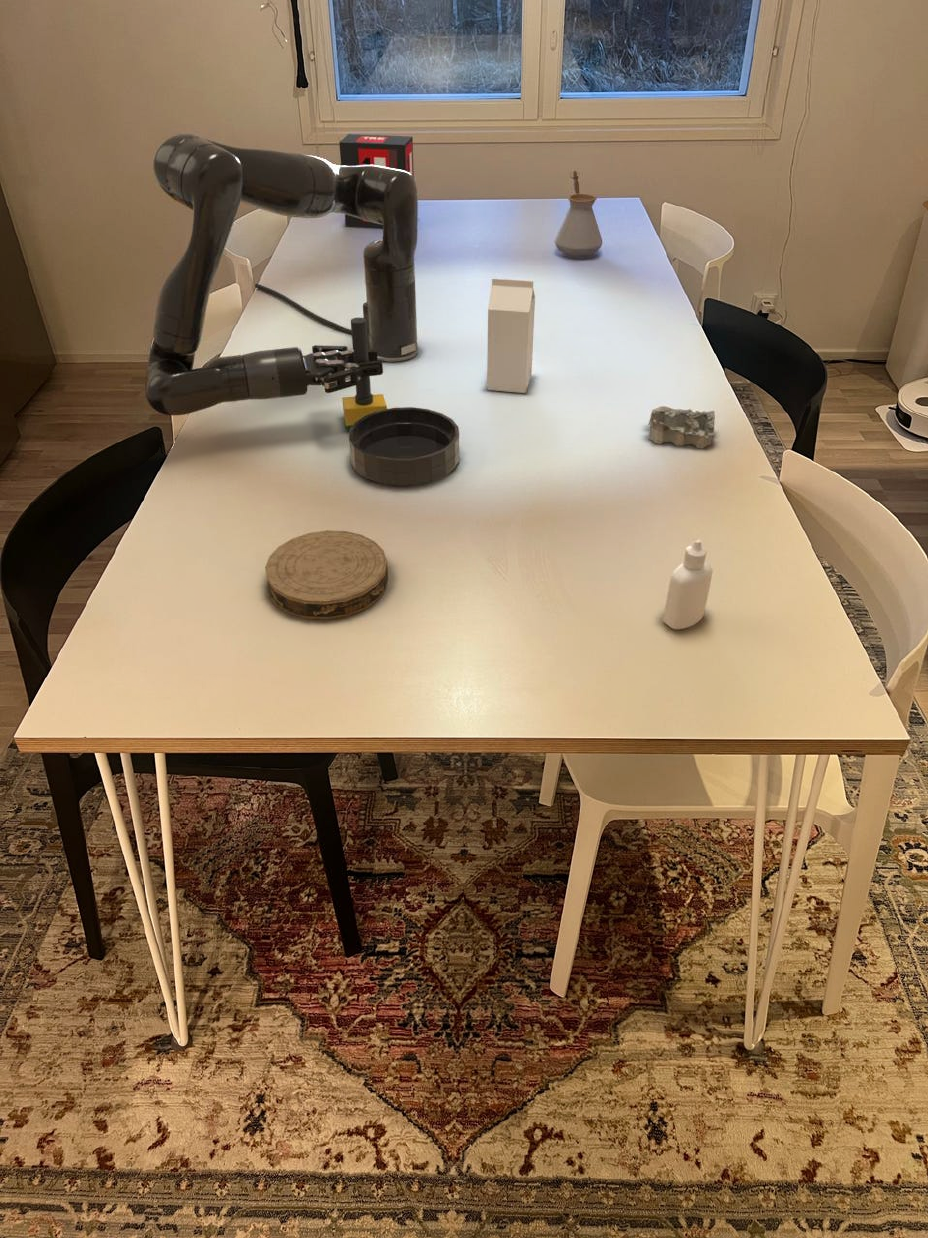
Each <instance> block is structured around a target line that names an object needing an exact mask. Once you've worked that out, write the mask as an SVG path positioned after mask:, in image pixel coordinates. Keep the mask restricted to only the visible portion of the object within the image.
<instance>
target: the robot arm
mask: <svg viewBox="0 0 928 1238" xmlns="http://www.w3.org/2000/svg"><path fill="white" fill-rule="evenodd" d="M152 162H153V166H152V168H153V174H154V176H155V179H156V182H157V183H158V185H159V187H160V188H161V189H162V191H163V192H164V193H165V194H166V195H167V196H168V197H170V198H171V199H172V200H173V201H175V202H177V203H178V204H181V205H183V206H185V207H186V208H188V209H190V210H192V211H193V213H192V215H193V216H192V218H193V219H192V229H191V233H190V238H189V241H188V243H187V246H186V248H185V250H184V252H183V254H182V255H181V256H180V258H179V260H177V262H176V263H175V265H174V266H173V267H172V268H171V270H170V271H169V272H168V274H167V276H166V277H165V279H164V281H163V283H162V285H161V287H160V290H159V294H158V298H157V304H156V311H155V316H154V317H155V318H154V324H153V339H152V342H151V347H150V351H149V356H148V359H147V364H146V370H145V397H146V400H147V402H148V404H149V406H150V407H151V408H152V409H153V410H154V411H156V412H158V413H160V414H162V415H165V416H185V415H189V414H193V413H196V412H200V411H202V410H205V409H209V408H212V407H214V406H217V405H220V404H223V403H233V402H234V403H235V402H243V401H249V400H251V401H252V400H264V401H265V400H273V399H280V398H290V397H297V396H304V395H307V393H308V386H323V388H324V393H326V394H332V393H335V392H337V391H342V390H345V389H349V388H351V387H356V385H358V380H360V377H368V376H370V377H377V376H382V375H383V373H384V367H383V362H390V363H391V362H397V363H398V362H403V361H408V360H410V359H412V358H414V357H416V356H417V354H418V353H419V346H418V325H417V323H418V322H417V298H416V297H417V296H416V295H417V293H416V271H415V269H416V267H415V254H416V249H417V245H418V221H419V219H418V217H419V216H418V215H419V194H418V188H417V184H416V181H415V178H414V179H413V177H412V176H411V175H410V174H409V173H408V172H405V171H402V170H397V169H392V168H387V167H381V166H375V165H364V166H341V165H336V164H333V163H331V162H330V161H328V160H326V159H324V158H321V157H319V156H315V155H310V154H305V153H297V152H291V151H280V150H271V149H261V148H246V147H245V148H244V147H236V146H231V145H228V144H224V143H220V142H217V141H215V140H210V139H207V138H204V137H201V136H199V135H196V134H193V133H178V134H175V135H173V136H170V137H168V138H167V139H166V140H165V141H163V142H162V143H161V144H160V145H159V147H158V148H157V150H156V152H155V154H154V158H153V161H152ZM241 203H242V204H245V205H247V206H251V207H253V208H256V209H259V210H262V211H266V212H268V213H272V214H275V215H279V216H282V217H288V218H289V217H291V218H301V219H319V218H323V217H326V216H328V215H329V214H330V213H336V214H341V215H345V214H346V215H349V216H353V217H356V218H359V219H362V220H365V221H368V222H373V223H377V224H381V225H383V229H382V239H378V240H375V241H372V242H370V243H367V244H366V245H365V247H364V248H363V266H364V267H363V268H364V281H365V294H366V297H365V299H366V301H365V302H363V304H362V315H363V317H362V318H364V319H365V320H366V331H367V345H368V359H369V362H361V363H359V364H358V363H354V357H353V349H348V348H349V346H346V345H320V344H319V345H318V344H316V345H312V346H311V349H312V351H311V353H308V354H305V355H303V351H302V350H301V348H300V347H298V346H294V347H292V346H291V347H285V348H274V349H267V350H265V349H264V350H258V351H254V352H253V351H252V352H248V353H243V354H236V355H229V356H220V357H219V356H218V357H214V358H212V359H210V360H209V361H207V363H206V365H205V366H202V367H197V368H194V365H195V359H196V358H195V357H196V352H197V351H198V350H199V348H200V346H201V342H202V337H203V331H204V326H205V319H206V316H207V315H206V314H207V308H208V303H209V299H210V294H211V291H212V286H213V284H214V279H215V277H216V274H217V271H218V268H219V265H220V263H221V260H222V257H223V254H224V252H225V248H226V246H227V243H228V240H229V236H230V234H231V231H232V228H233V226H234V223H235V219H236V216H237V214H238V211H239V207H240V205H241ZM254 287H255V288H256V289H258V290H260V291H263V292H264V293H265V292H266V293H268V294H270V295H273V296H274V297H276V298H278V299H280V300H282V301H283V302H285V303H287V304H288V305H290V306H292V307H293V308H295V309H296V310H298V311H300V312H301V313H303V314H304V315H306V316H308V317H310V318H312V319H313V320H315V321H317V322H319V323H321V324H323V325H325V326H328V327H330V328H333V329H334V330H337V331H339V332H342V333H344V334H347V335H351V336H352V332H351V328H350V329H349V328H347V327H344V326H342V325H340V324H337V323H335V322H332V321H330V320H328V319H325V318H324V317H321V316H319V315H317V314H316V313H314V312H313V311H310V310H309V309H307V308H305V307H303V306H302V305H300V304H299V303H297V302H296V301H294V300H293V299H291V298H289V297H287V296H286V295H284V294H282V293H280V292H279V291H276V290H274V289H272V288H269V287H267V286H265V285H262V284H259V283H255V284H254Z"/></svg>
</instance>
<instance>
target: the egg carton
mask: <svg viewBox="0 0 928 1238" xmlns="http://www.w3.org/2000/svg"><path fill="white" fill-rule="evenodd" d="M715 421H716V413H715V410H711V411H702V412H701V411H698V410H696V411H693V410H692V409H691V408H690V409H680V408H675V409H674V408H671V407H668V406H659V407H656V408H654V409H652V410H651V413H650V418H649V420H648V424H647V425H648V426H649V428H648V429H649V432H648V439H647V440H649V441H652V442H654V444H658V445H661V444H663V443H673V444H674V445H675V446H677V447H678V446H680V447H681V446H682V447H683V446H684V445H694V446H695V447H696V448H697V449H704V448H705V447H709V446H711V445H712V440H713V436H714V435H715V423H716V422H715Z"/></svg>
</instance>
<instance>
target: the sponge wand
mask: <svg viewBox="0 0 928 1238" xmlns="http://www.w3.org/2000/svg"><path fill="white" fill-rule="evenodd" d="M350 330H351V332H352V335H351V341H352V342H351V343H352V344H351V345H352V350H353V357H354V363H358V364H359V363H361V362H369V359H368V345H367V331H366V320H365V319H364V318H363V317H360V316H359V317H354V318H351V319H350ZM371 390H372V388H371V376H368V377H360V380H358V385H355V395H354V396H347V397H342V398H341V401H342V410H343V422H344V425H345V429H346V432H349V430H350V429H351V427H352V426H353V425H354V423H355V422H356V421H358V420H360V419H361V418H363V417H364V416H366V415H368V414H371V413H374V412H377V411H380V410H385V409H388V405H387V401H386V399H385V395H384V394H383V393H379V394H372V391H371Z"/></svg>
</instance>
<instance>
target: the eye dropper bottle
mask: <svg viewBox="0 0 928 1238" xmlns="http://www.w3.org/2000/svg"><path fill="white" fill-rule="evenodd" d="M706 558H707V549H706V548H704V546H702V540H701V539H698V538H697V539H695V540H694V542H693V544H692V545H689V546H687V547H686V548H685V552H684V557H683V562H682V563H681V564H679V566H677V567H676V568H675V569H674V571H673V572H672V573H671V576H670V579H669V584H668V590H667V594H666V601H665V606H664V612H663V617H662V620H663V623H664V624H666V625H667V626H668V627H670V628H671V629H672V630H675V631H676V630H684V629H688V628H690V627H693V626H694V625H696V624H698V623H699V622H700V621H701V619H702V618H703V617H704V615H705V611H706V608H707V607H706V606H707V602H708V597H709V592H710V587H711V583H712V577H713V567H712V566H711V565H710V564H709V563H708V562H707V561H706Z"/></svg>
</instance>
